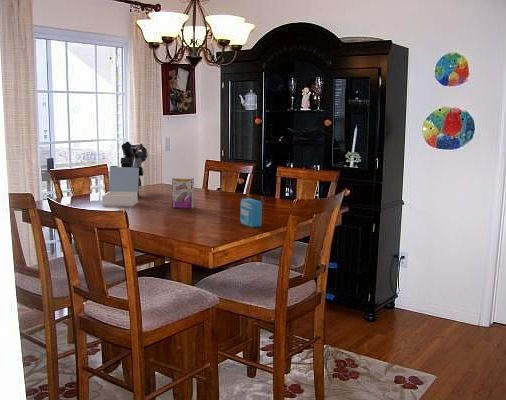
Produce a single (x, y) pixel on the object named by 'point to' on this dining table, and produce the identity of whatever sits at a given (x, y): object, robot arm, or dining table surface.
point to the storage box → (119, 199)
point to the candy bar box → (182, 192)
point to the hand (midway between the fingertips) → (124, 182)
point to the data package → (251, 212)
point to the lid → (123, 179)
